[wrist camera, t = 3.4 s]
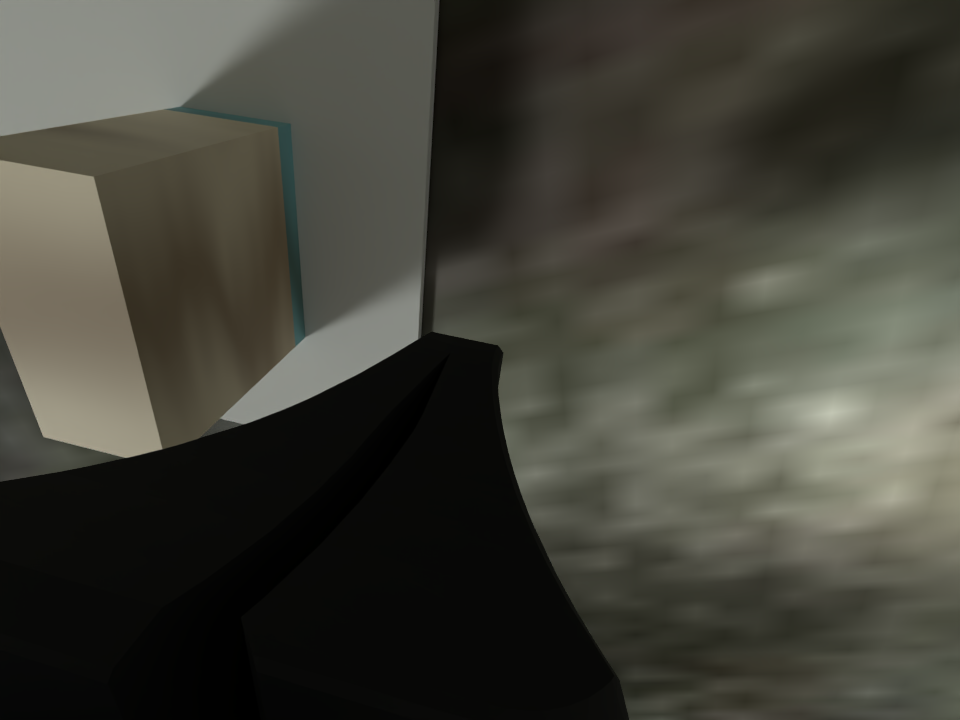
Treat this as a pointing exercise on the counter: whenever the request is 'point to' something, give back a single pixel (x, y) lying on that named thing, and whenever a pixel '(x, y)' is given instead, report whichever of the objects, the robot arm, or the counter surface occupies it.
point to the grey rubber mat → (282, 98)
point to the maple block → (147, 272)
